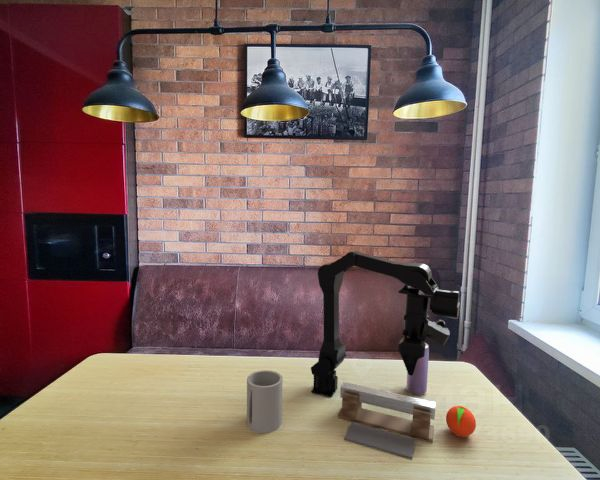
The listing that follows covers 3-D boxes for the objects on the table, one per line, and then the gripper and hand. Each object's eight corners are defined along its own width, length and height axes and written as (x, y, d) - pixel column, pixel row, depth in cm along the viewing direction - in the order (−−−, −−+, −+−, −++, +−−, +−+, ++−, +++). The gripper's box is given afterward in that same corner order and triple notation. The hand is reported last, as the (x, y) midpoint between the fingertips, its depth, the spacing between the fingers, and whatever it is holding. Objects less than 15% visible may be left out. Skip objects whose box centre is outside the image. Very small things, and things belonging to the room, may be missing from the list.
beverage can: (427, 397, 108) (430, 349, 106) (407, 394, 109) (409, 347, 107) (424, 387, 114) (427, 341, 112) (405, 384, 115) (407, 339, 113)
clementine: (472, 449, 85) (474, 421, 84) (441, 438, 88) (443, 411, 88) (476, 431, 92) (478, 405, 91) (447, 422, 95) (449, 397, 95)
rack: (337, 417, 96) (338, 393, 95) (344, 406, 102) (345, 382, 101) (432, 442, 87) (434, 415, 86) (434, 428, 92) (435, 402, 92)
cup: (286, 416, 96) (287, 373, 95) (273, 436, 88) (274, 390, 87) (256, 409, 99) (256, 368, 98) (240, 428, 91) (240, 383, 90)
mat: (344, 439, 87) (344, 438, 87) (351, 423, 94) (351, 422, 94) (412, 459, 81) (412, 457, 81) (415, 440, 88) (415, 439, 87)
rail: (340, 397, 97) (340, 386, 97) (343, 392, 100) (343, 381, 100) (434, 419, 88) (435, 408, 87) (434, 413, 90) (435, 402, 90)
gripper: (449, 327, 83) (444, 391, 85) (448, 306, 101) (444, 359, 102) (400, 320, 87) (396, 380, 89) (407, 301, 105) (403, 352, 106)
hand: (412, 367), depth 97 cm, fingers open, 9 cm apart
